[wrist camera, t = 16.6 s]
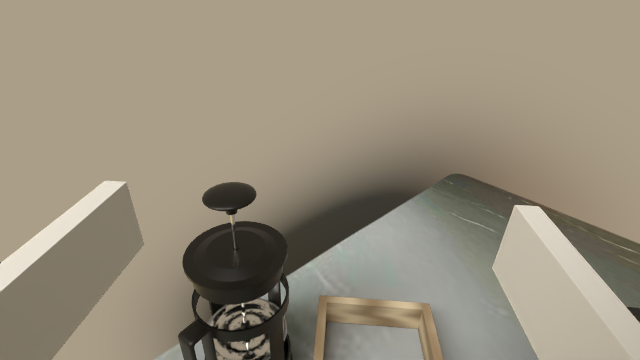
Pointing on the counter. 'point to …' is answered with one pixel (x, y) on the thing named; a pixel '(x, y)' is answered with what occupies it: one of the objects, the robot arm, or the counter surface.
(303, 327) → the counter surface
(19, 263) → the robot arm
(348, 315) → the wooden frame
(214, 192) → the french press
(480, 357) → the counter surface
